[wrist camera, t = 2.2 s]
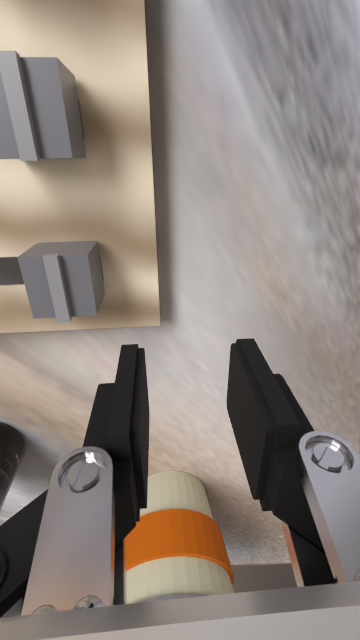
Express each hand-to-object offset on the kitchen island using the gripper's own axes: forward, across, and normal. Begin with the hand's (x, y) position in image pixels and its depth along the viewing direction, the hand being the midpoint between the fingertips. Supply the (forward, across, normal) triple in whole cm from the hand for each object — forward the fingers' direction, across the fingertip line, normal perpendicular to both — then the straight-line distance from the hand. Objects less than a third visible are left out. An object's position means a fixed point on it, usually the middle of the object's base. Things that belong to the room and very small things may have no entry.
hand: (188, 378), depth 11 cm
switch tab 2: (+13, +7, 0) cm, 15 cm away
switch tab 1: (+13, +7, -9) cm, 17 cm away
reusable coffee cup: (+15, +1, +30) cm, 34 cm away
